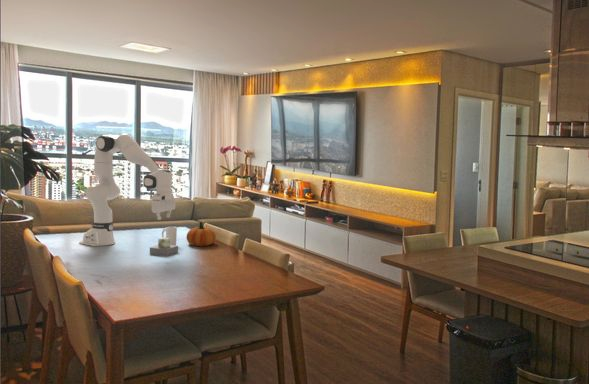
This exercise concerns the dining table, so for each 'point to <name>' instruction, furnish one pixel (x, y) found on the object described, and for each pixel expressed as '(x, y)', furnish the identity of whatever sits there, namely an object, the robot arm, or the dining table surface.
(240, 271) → the dining table surface
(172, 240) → the mug
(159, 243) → the cube
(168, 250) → the riser block
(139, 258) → the dining table surface
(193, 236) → the pumpkin
